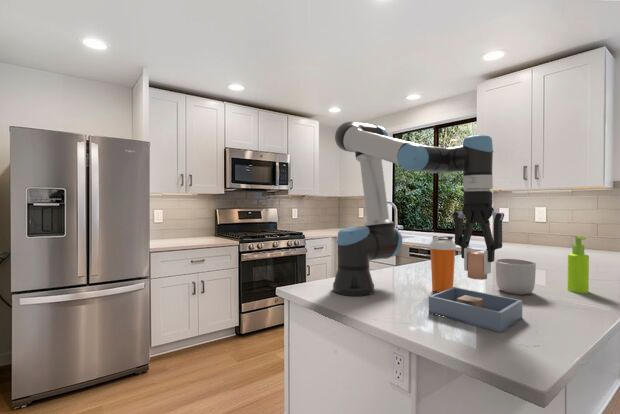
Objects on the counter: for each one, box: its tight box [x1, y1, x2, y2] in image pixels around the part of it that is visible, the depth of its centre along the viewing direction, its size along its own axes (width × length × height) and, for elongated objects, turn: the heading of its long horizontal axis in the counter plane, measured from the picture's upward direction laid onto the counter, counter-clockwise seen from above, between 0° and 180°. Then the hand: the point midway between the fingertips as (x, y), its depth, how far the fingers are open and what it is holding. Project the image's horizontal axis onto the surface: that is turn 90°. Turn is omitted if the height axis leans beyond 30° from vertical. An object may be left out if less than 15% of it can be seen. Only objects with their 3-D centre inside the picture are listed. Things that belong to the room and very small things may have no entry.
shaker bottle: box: [429, 235, 457, 293], centre depth 122 cm, size 9×9×20 cm
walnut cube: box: [457, 295, 483, 308], centre depth 93 cm, size 5×5×5 cm
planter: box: [495, 258, 537, 295], centre depth 120 cm, size 12×12×11 cm
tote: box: [428, 286, 523, 334], centre depth 96 cm, size 20×16×5 cm
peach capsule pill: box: [467, 251, 488, 281], centre depth 96 cm, size 5×5×7 cm
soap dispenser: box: [567, 235, 590, 294], centre depth 119 cm, size 6×7×20 cm
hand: (477, 271), depth 96 cm, fingers closed on peach capsule pill, 5 cm apart
